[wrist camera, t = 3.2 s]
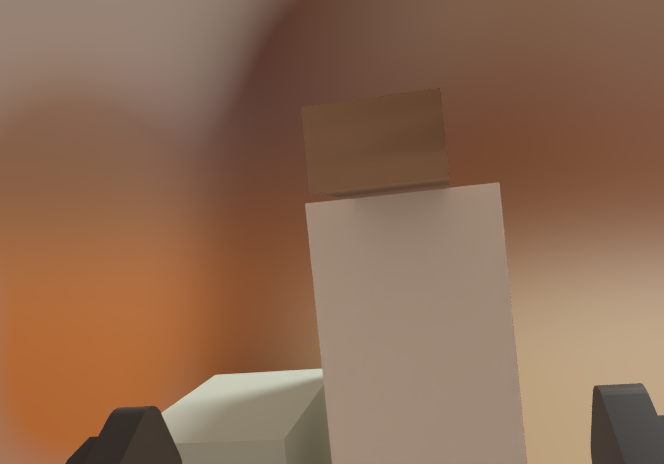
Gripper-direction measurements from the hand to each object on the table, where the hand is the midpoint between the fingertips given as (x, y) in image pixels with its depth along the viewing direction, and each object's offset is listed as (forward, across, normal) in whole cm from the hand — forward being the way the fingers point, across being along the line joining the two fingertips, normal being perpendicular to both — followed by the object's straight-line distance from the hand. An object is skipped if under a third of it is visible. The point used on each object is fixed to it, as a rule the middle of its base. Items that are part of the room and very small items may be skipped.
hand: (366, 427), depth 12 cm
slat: (+17, 0, +4) cm, 17 cm away
